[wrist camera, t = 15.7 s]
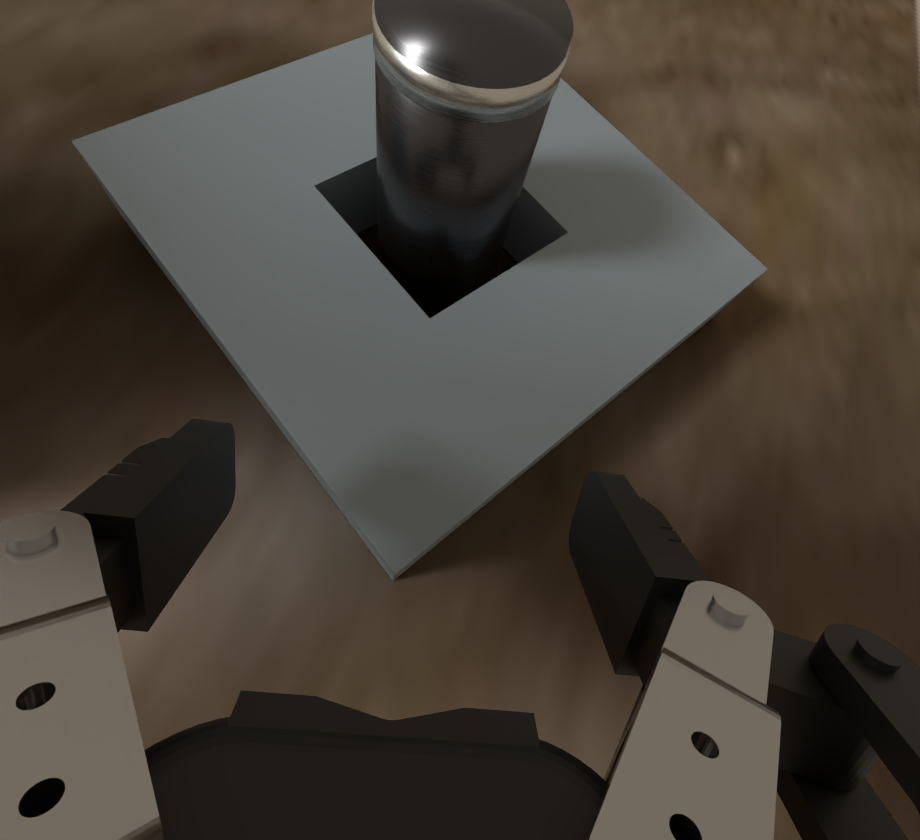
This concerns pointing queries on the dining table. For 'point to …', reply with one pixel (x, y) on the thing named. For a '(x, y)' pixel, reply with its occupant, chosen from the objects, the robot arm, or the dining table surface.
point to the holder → (390, 307)
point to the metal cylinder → (458, 132)
